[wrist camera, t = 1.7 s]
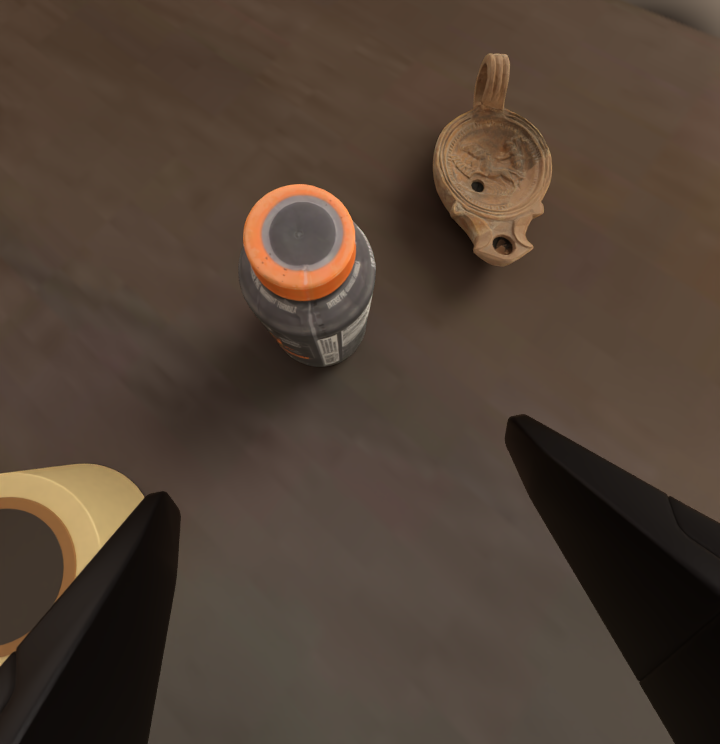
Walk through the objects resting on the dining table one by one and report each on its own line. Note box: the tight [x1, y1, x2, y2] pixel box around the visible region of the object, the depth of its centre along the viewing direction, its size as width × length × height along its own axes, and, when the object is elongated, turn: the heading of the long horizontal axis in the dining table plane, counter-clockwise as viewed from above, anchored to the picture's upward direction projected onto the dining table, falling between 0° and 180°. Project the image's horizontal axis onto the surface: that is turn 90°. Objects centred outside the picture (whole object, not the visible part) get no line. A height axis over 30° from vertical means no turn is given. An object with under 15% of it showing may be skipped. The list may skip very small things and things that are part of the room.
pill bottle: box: [238, 184, 376, 367], centre depth 18 cm, size 6×6×11 cm
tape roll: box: [0, 464, 145, 666], centre depth 19 cm, size 9×9×5 cm
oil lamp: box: [433, 54, 552, 266], centre depth 23 cm, size 13×8×5 cm, turn 179°
